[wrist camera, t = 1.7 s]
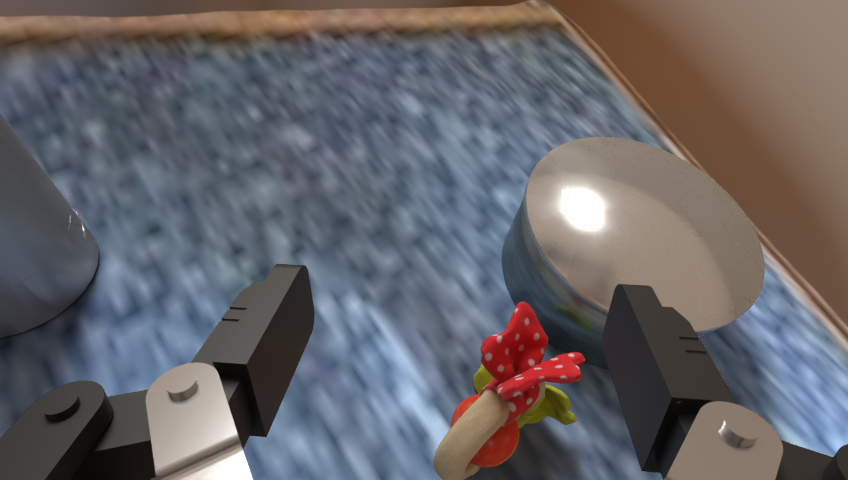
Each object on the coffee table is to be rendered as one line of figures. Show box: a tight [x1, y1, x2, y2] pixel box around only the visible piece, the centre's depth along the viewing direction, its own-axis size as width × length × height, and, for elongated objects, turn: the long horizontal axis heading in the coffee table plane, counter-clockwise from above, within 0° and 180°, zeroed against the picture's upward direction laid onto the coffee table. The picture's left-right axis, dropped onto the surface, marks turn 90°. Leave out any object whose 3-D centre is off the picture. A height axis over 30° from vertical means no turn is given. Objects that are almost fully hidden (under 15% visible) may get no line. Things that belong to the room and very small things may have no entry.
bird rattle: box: [433, 302, 585, 480], centre depth 24 cm, size 6×11×9 cm
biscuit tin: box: [502, 137, 764, 369], centre depth 33 cm, size 15×15×7 cm
